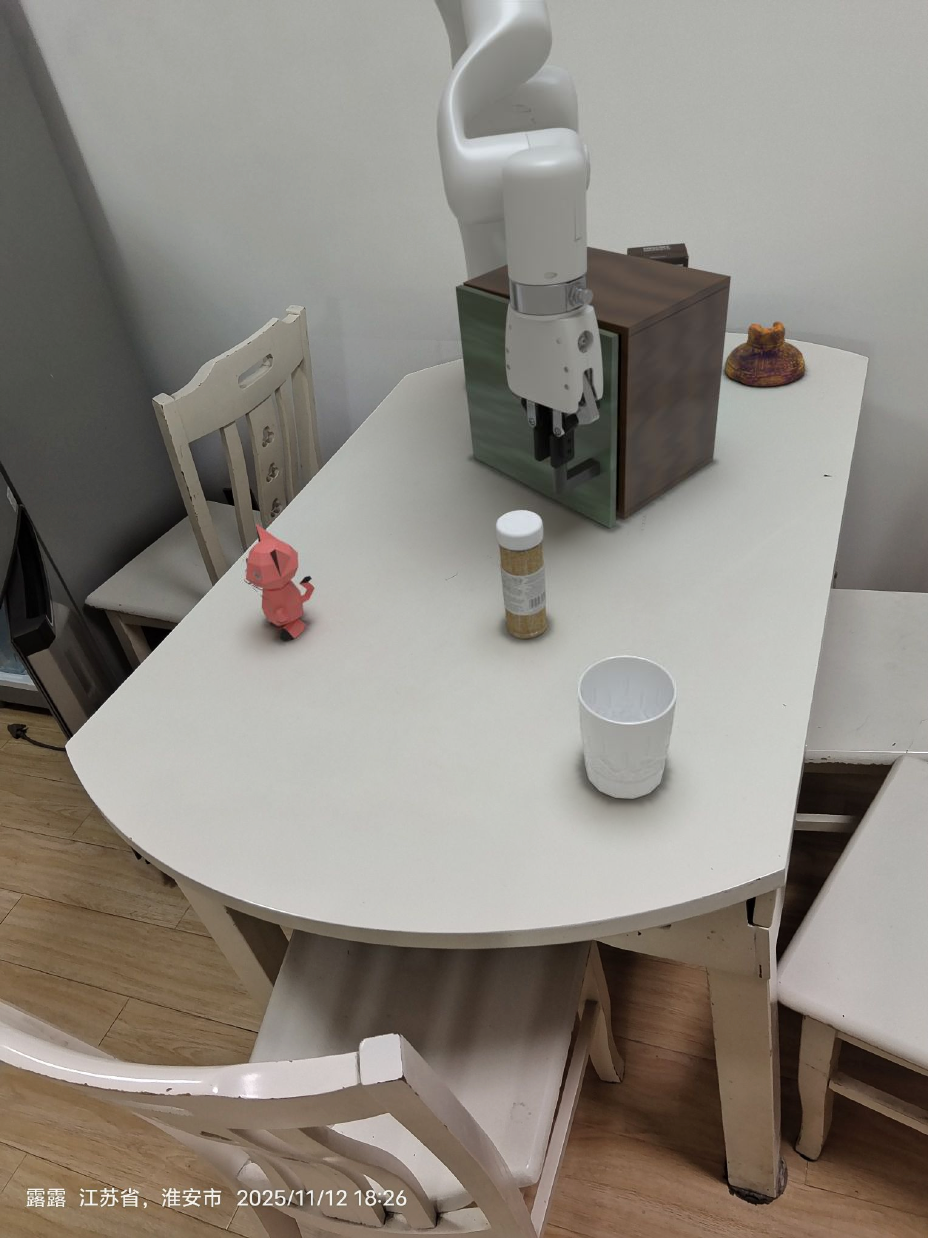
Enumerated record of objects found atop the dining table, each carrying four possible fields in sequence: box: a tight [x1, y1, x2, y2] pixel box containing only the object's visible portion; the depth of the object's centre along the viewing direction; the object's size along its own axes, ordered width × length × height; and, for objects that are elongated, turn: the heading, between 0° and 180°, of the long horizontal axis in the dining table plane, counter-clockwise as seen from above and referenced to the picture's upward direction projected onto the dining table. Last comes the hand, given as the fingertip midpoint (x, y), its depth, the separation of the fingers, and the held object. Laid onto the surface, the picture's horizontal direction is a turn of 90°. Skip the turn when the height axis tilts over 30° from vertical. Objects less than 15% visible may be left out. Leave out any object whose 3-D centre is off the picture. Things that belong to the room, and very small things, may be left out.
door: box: [455, 284, 618, 529], centre depth 103 cm, size 7×26×24 cm, turn 39°
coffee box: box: [626, 242, 690, 268], centre depth 135 cm, size 9×6×16 cm
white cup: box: [576, 654, 678, 800], centre depth 72 cm, size 8×8×10 cm
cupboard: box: [462, 246, 732, 521], centre depth 109 cm, size 18×26×24 cm
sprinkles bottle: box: [495, 509, 549, 639], centre depth 87 cm, size 5×5×14 cm
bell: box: [724, 320, 806, 387], centre depth 129 cm, size 12×12×7 cm
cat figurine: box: [242, 523, 315, 642], centre depth 91 cm, size 7×7×12 cm
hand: (554, 458), depth 95 cm, fingers closed on door
